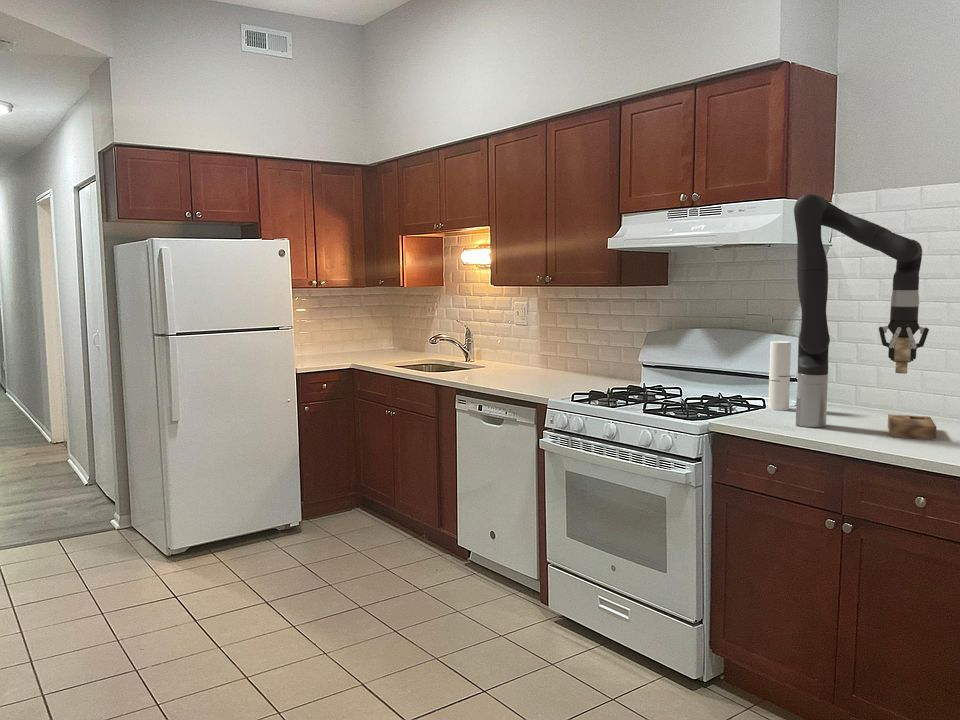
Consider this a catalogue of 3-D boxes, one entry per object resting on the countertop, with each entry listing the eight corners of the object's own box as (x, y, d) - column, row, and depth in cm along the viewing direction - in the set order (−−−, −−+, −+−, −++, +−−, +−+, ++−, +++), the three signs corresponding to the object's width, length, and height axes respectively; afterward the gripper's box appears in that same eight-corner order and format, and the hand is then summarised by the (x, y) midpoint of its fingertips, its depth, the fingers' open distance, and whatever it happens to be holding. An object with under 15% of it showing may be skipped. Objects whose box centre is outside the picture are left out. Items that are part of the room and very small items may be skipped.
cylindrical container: (790, 410, 288) (792, 342, 286) (769, 410, 290) (772, 342, 287) (786, 407, 295) (789, 341, 293) (766, 406, 297) (768, 341, 294)
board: (890, 436, 241) (891, 423, 241) (887, 426, 257) (888, 414, 257) (935, 439, 236) (936, 426, 236) (929, 429, 252) (930, 416, 252)
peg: (892, 373, 241) (894, 337, 240) (891, 371, 245) (893, 336, 244) (911, 374, 239) (912, 338, 238) (909, 372, 243) (911, 337, 242)
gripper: (930, 304, 240) (927, 360, 242) (877, 304, 246) (875, 358, 248) (932, 305, 233) (929, 362, 235) (878, 305, 239) (876, 360, 241)
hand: (901, 360), depth 242 cm, fingers closed on peg, 4 cm apart
